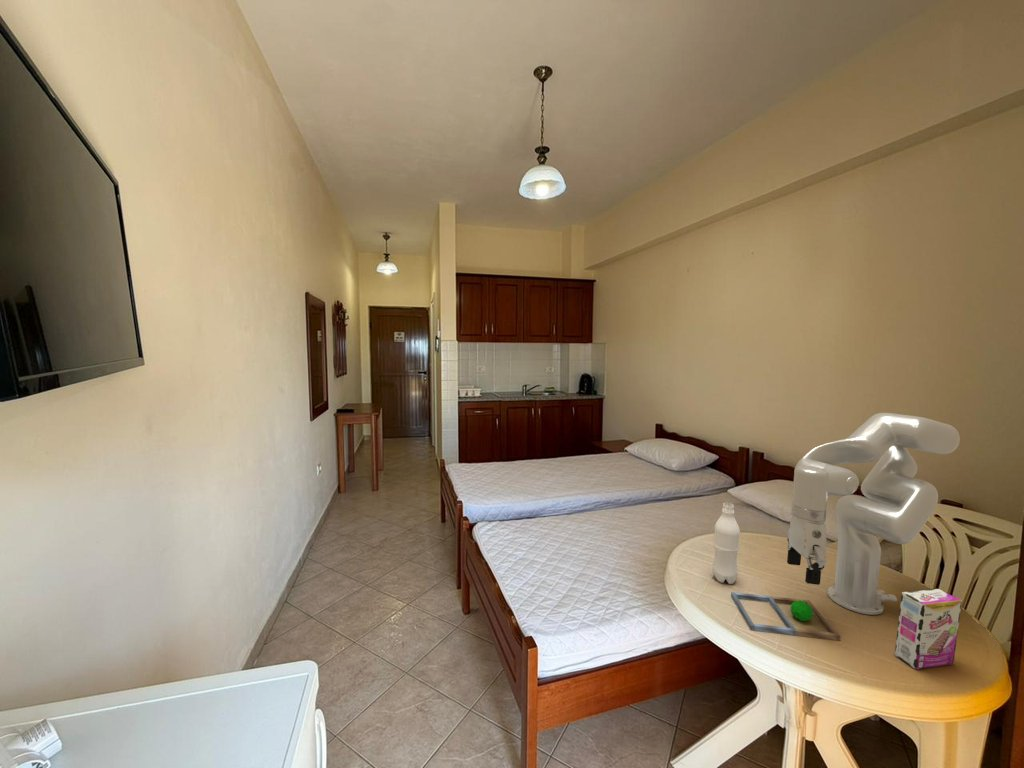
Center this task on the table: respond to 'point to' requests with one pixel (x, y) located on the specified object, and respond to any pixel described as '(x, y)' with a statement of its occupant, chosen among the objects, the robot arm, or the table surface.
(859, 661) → the table surface
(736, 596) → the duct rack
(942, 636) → the candy bar box
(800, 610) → the polyhedron
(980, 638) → the table surface
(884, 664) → the table surface
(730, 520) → the water bottle
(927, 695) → the table surface
